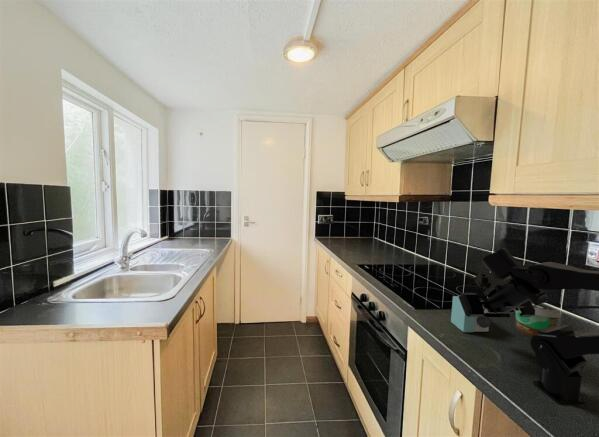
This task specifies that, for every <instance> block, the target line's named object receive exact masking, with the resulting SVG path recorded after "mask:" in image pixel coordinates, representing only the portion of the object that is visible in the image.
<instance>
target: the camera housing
mask: <svg viewBox="0 0 599 437" xmlns="http://www.w3.org/2000/svg"><path fill="white" fill-rule="evenodd" d="M491 324H492V320H491V317H475V327H474V332H473V333H475V332H489V327H490V325H491Z"/></svg>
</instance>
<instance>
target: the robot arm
mask: <svg viewBox="0 0 599 437" xmlns="http://www.w3.org/2000/svg"><path fill="white" fill-rule="evenodd" d="M481 263H482V264H483V265H484V266H485V267H486V269H488V271H489V272H479V273H478V274H476V275H475V277H474V279H473V280H474V282H475V284H476V285H477V286H478V287H482V288H483V289H484V290H485V291H483V295H484V296H483V295H482V296H479V295H478V293H475V292H462V293H461V294H459V295H458V296H459V300H460V302H461V305H462V308H463V310H464V313H465V315H466V316H468V317H490V318H506V319H507V318H510V317H511V314H514V313H515V312H516V311H519V309H520V311H521V313H520V314H519V315H520V316H521V317H532V316H534V315H535V309H534V307H533V305H532V303H533V304H534V305H536V306H537V305H540V306H541V305H542V304H545V303H547V302H549V300H548V298H549V297H548V296H547V292H546V290H551V291H552V290H553V291H554V290H556V291H557V290H577V289H578V290H588V291H594V292H595V291H596V292H599V270H591V269H583V268H579V267H575V266H572V265H568V264H563V263H558V262H554V261H547V262H540V263H536V264H529V263H528V264H521V263H520V262H519V261H518V259H516V258H515V257H514V255H512V253H511V252H510V250H509V249H508V248H507V247H504V248H503V247H502V248H500V249H499V250H497V251H494V252H493V253H490V254H487V255H485V256H484V257H482V259H481ZM506 280H509V281H507V282H506ZM544 290H545V291H544ZM518 308H519V309H518ZM538 333H539V334H537V335H534V336H533V337H531V339H530V347H531V350H533V352H534V353H535V356H536V360H537V364H538V366H539V370H538V377H537V378H538V379H537V380H532V383H531V384H533V385H534V386H536V387H537V388H538V389H540V390H541V392H543V393H544V394H546V396H548V397H549V398H551V399H552V400H553V401H554V402H556V403H557V404H586V402H587V400H586V399H584V398H582V397H581V395H580V393H581V385H582V380H583V376H582V375H581V374H580V372H579V371H580V370H582V369H584V368H585V367H586V365H588V362H589V361H588V360H587V359H586V358H585V356H586V355H599V331H593V332H592V331H591V332H589V331H588V332H581V331H577V330H574V329H573V325H572V324H566V325H562V326H556V325H555V326H550V327H548V328H545V329H543V330H540V331H538Z"/></svg>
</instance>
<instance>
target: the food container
mask: <svg viewBox="0 0 599 437" xmlns="http://www.w3.org/2000/svg"><path fill="white" fill-rule="evenodd" d="M531 303H532V305H533V307H534V309H535V315H534V316H532V317H521V316H520V315H519V314H520V313H521V311H520V309H519V308H518V309H519V311H515V329H516V330H517V331H518V332H519V333H521V334H523V335H525V336H526V337H530V338H532V337H533V336H534V335H537V334H539V333H538V331H540V330H543V329H545V328H548V327H550V326H556V324H557V321H558V318H559V319H560V318H561V312H560V309H558V310H557V309H556V310H551V309H548V308H546V307H544V306H542V305H541V304H540V305H537V306H536V305H534V304H533V302H531Z"/></svg>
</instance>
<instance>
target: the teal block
mask: <svg viewBox="0 0 599 437" xmlns="http://www.w3.org/2000/svg"><path fill="white" fill-rule="evenodd" d="M459 296H460V295H457V296H456V295H455V296H454V295H453V296H452V305H451V316H450V322H451V323H452V324H453V325H454V326H455V327H457V328H458V329H459V330H460V331H461V332H463V333H475V332H474V327H475V317H468V316H466V315H465V313H464V310H463V308H462V305H461V302H460V300H459Z"/></svg>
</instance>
